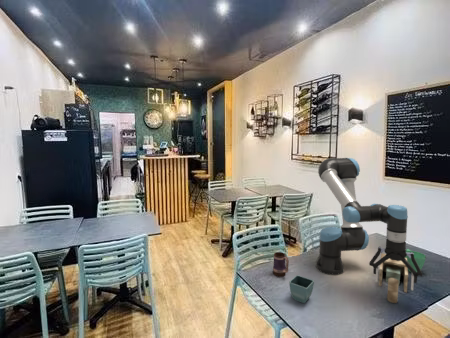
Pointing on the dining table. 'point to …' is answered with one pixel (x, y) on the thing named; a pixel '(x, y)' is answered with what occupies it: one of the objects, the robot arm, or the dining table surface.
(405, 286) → the tan wooden arch
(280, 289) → the dining table surface
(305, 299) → the flower pot
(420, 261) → the mug
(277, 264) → the mug
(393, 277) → the tethered block
